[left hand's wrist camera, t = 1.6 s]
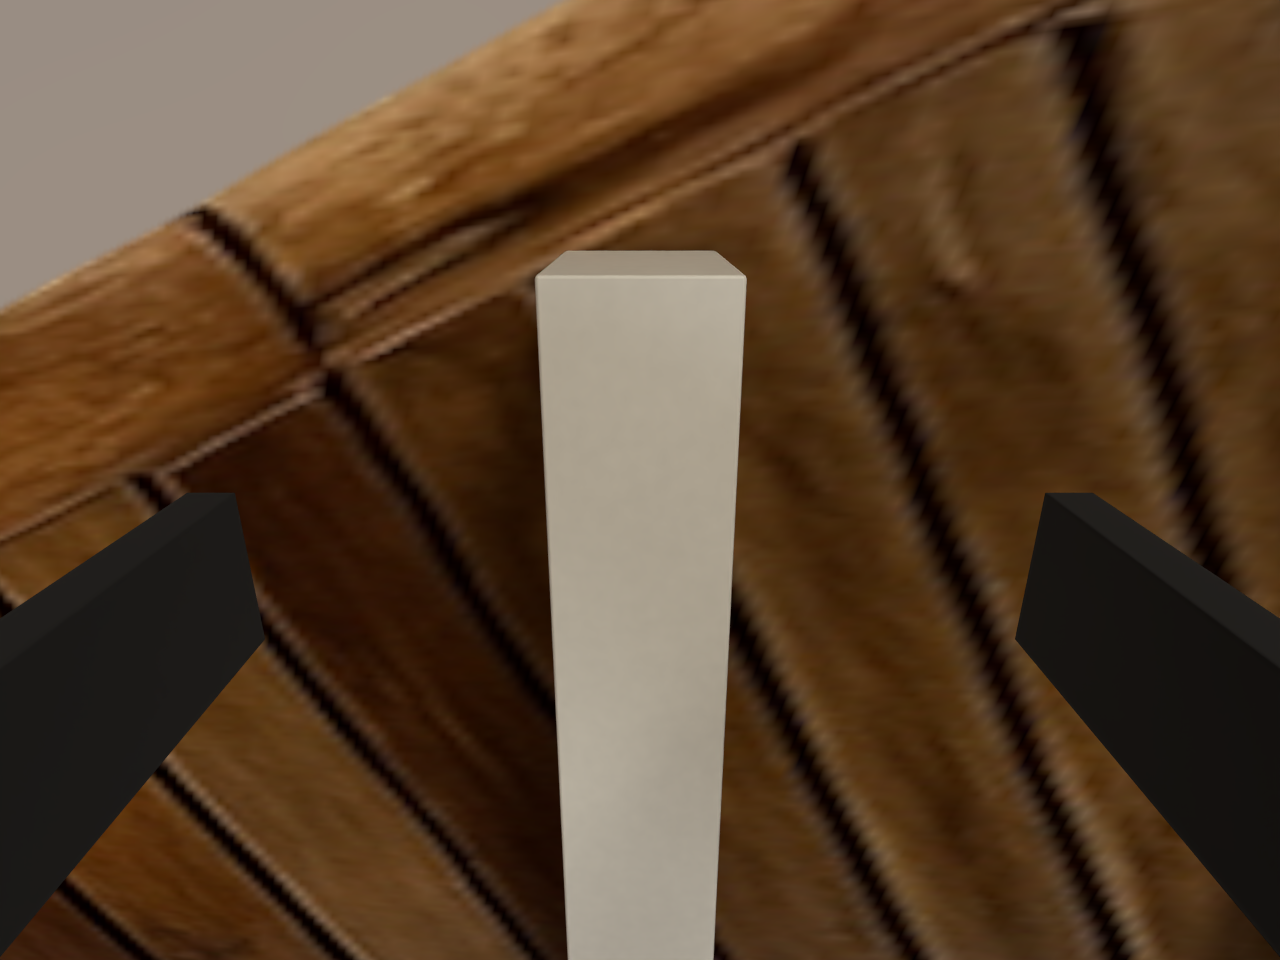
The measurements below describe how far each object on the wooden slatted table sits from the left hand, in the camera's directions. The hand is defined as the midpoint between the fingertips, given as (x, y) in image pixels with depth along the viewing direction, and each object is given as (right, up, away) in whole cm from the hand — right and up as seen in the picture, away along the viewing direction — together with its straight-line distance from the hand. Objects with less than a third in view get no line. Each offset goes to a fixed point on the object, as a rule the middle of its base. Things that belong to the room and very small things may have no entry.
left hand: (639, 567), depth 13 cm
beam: (0, -7, +18) cm, 20 cm away
